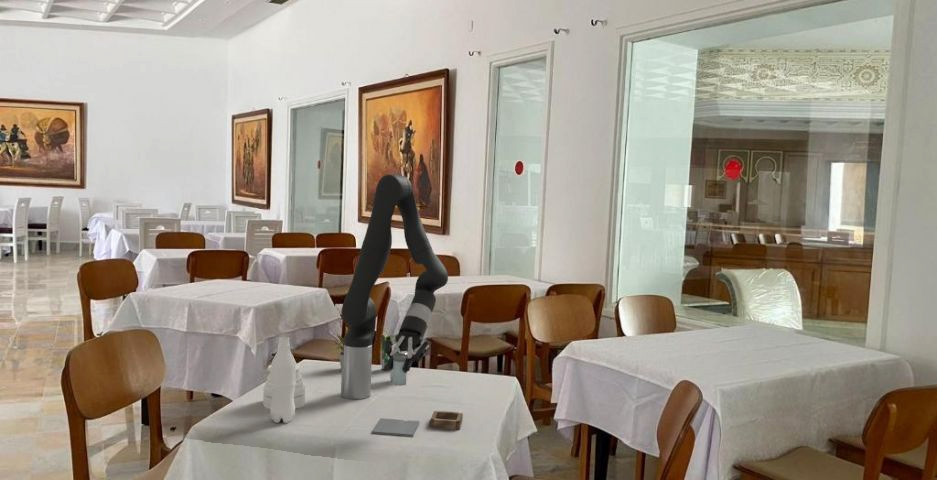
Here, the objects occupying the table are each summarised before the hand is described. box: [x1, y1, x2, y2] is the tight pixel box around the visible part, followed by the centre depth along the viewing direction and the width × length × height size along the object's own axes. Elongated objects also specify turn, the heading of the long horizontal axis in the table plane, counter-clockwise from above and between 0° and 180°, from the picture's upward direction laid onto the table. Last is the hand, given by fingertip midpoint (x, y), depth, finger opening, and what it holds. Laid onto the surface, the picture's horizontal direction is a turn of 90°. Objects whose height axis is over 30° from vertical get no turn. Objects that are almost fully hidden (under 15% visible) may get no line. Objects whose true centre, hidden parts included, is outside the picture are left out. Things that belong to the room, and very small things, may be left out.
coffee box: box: [381, 334, 397, 371], centre depth 291 cm, size 8×3×13 cm, turn 114°
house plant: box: [330, 326, 349, 371], centre depth 289 cm, size 14×14×16 cm
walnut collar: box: [429, 410, 464, 431], centre depth 232 cm, size 9×9×2 cm
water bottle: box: [269, 336, 297, 424], centre depth 227 cm, size 7×7×25 cm
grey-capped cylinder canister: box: [391, 354, 408, 387], centre depth 225 cm, size 4×4×8 cm
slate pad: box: [371, 417, 421, 437], centre depth 226 cm, size 12×12×1 cm
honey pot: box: [262, 345, 306, 410], centre depth 244 cm, size 13×13×18 cm
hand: (397, 369), depth 223 cm, fingers closed on grey-capped cylinder canister, 4 cm apart
